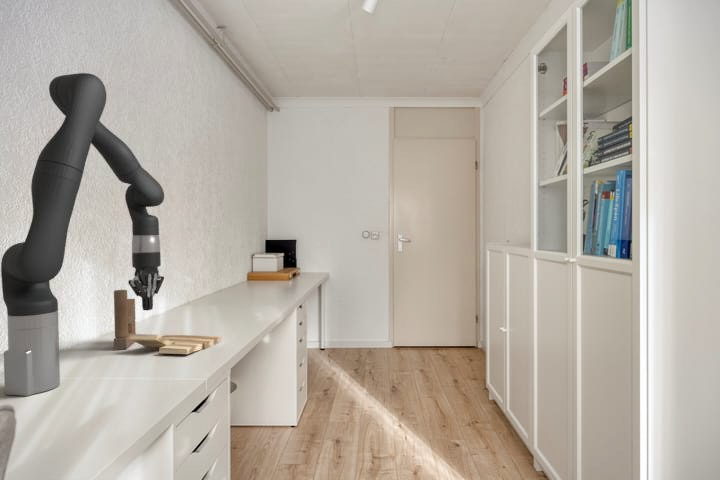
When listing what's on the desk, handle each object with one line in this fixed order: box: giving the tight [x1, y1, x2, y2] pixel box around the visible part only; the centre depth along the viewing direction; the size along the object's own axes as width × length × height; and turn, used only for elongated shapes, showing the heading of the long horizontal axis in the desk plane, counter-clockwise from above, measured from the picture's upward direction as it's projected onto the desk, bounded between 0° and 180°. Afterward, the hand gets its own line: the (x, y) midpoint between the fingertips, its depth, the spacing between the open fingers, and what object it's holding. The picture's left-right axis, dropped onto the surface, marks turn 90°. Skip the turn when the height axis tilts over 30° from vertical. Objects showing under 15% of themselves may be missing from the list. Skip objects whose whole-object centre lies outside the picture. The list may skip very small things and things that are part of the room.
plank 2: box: [158, 343, 203, 355], centre depth 129 cm, size 8×9×2 cm
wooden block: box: [113, 289, 137, 351], centre depth 138 cm, size 4×11×18 cm, turn 13°
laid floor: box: [148, 334, 222, 350], centre depth 139 cm, size 10×20×2 cm, turn 79°
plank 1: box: [129, 333, 172, 348], centre depth 131 cm, size 8×9×2 cm
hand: (147, 309), depth 129 cm, fingers closed
